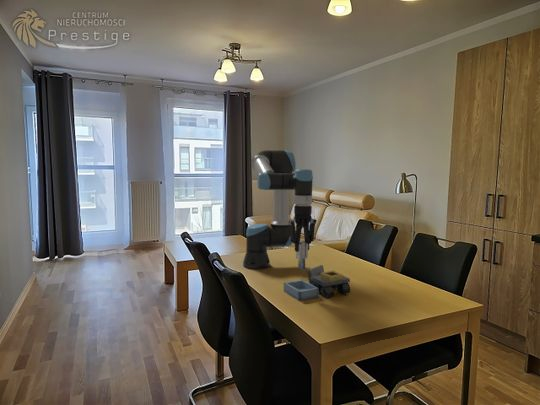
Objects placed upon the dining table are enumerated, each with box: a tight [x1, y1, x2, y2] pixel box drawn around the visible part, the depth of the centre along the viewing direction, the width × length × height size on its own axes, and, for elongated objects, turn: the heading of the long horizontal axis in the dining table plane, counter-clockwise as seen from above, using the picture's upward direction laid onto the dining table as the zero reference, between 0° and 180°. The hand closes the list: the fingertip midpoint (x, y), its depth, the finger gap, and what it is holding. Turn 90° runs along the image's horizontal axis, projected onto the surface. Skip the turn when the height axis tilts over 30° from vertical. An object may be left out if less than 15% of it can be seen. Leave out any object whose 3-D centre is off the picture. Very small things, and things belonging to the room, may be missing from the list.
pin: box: [297, 240, 306, 270], centre depth 159 cm, size 3×3×12 cm
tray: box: [283, 279, 320, 302], centre depth 161 cm, size 13×10×4 cm
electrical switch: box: [306, 264, 325, 284], centre depth 173 cm, size 9×5×9 cm, turn 138°
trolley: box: [311, 270, 351, 299], centre depth 163 cm, size 13×14×9 cm
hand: (301, 258), depth 159 cm, fingers closed on pin, 3 cm apart
